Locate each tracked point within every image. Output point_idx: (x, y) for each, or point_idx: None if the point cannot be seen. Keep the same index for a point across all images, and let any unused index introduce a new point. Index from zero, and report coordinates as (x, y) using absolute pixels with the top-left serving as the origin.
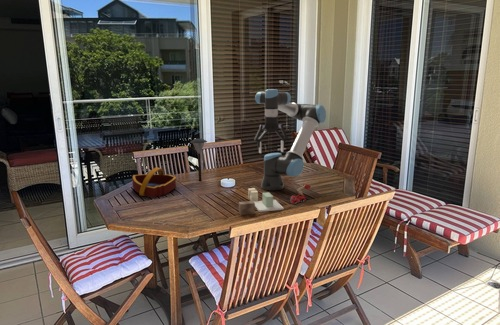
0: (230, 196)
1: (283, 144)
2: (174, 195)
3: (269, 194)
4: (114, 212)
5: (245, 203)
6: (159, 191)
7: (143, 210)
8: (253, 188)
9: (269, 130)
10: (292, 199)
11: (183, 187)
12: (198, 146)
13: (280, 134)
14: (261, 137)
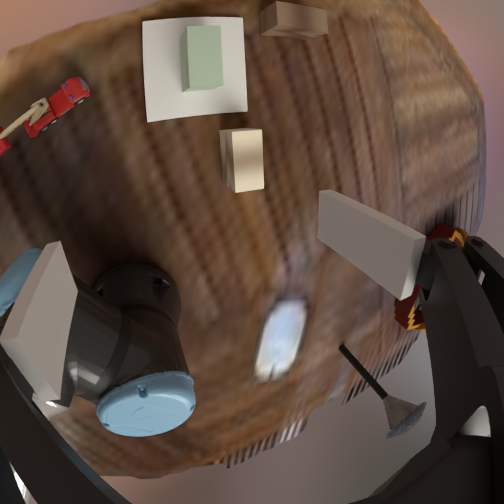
0: (304, 203)
1: (16, 300)
2: (415, 230)
3: (196, 55)
4: (480, 150)
5: (308, 10)
6: (441, 233)
7: (460, 144)
8: (241, 186)
9: (475, 476)
10: (82, 79)
11: (387, 291)
12: (405, 405)
13: (37, 482)
14: (471, 281)
